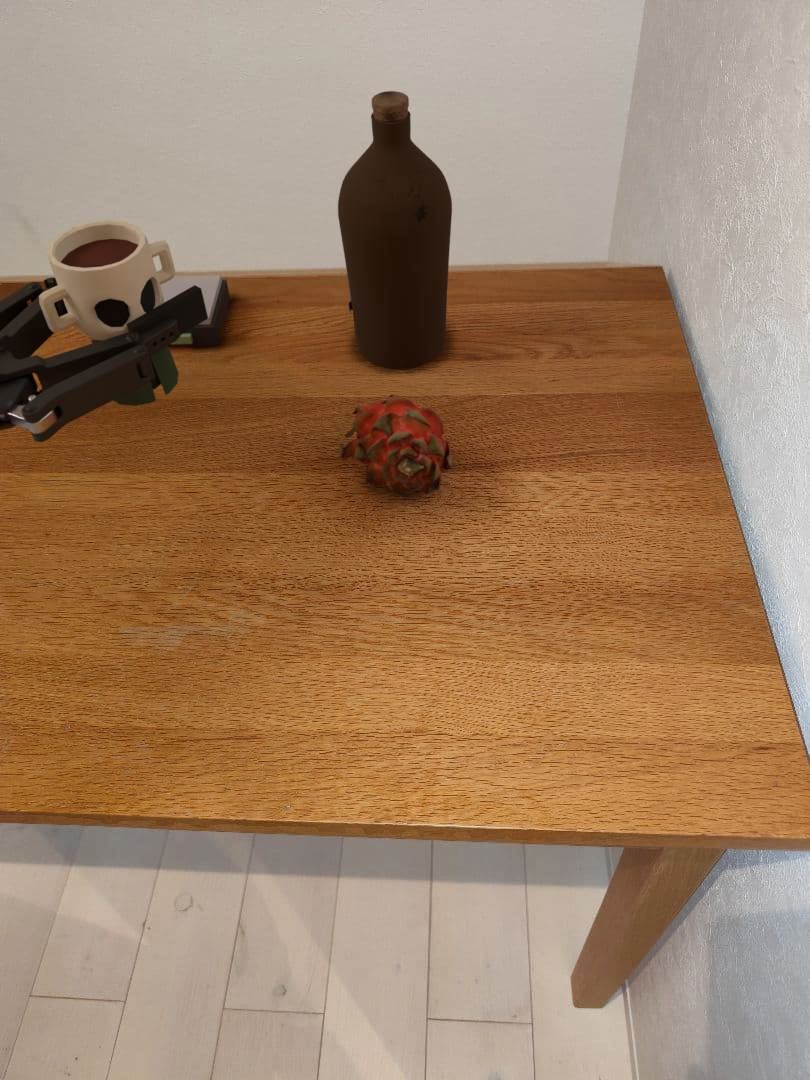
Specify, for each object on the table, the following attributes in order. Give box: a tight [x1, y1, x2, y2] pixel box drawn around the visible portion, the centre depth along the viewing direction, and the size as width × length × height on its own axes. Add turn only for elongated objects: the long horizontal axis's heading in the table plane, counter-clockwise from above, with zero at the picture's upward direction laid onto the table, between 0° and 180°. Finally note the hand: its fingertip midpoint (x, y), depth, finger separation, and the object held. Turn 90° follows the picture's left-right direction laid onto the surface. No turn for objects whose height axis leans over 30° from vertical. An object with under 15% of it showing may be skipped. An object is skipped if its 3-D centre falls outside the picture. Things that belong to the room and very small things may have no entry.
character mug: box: [39, 219, 180, 407], centre depth 69 cm, size 11×7×13 cm, turn 133°
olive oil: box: [337, 90, 453, 370], centre depth 85 cm, size 11×11×25 cm
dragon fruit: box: [338, 393, 455, 498], centre depth 79 cm, size 8×8×12 cm
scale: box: [160, 274, 231, 348], centre depth 97 cm, size 9×10×3 cm
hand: (169, 284), depth 71 cm, fingers closed on character mug, 7 cm apart
